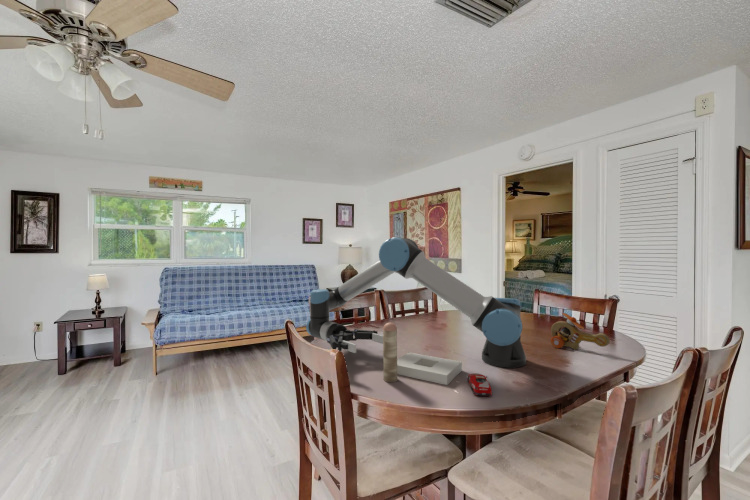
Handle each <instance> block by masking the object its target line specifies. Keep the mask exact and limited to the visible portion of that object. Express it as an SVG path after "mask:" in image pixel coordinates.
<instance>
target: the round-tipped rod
mask: <svg viewBox="0 0 750 500" xmlns="http://www.w3.org/2000/svg"><path fill="white" fill-rule="evenodd" d="M382 335H383V344H382V349H383V350H382V351H383V362H382V363H383V366H382V367H383V381H384V382H385V383H386V382H387V383H395V382H397V381H398V374H397V359H398V329H397V326H396V324H395V323H393V322H387V323H385V324H384V326H383V328H382Z"/></svg>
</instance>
